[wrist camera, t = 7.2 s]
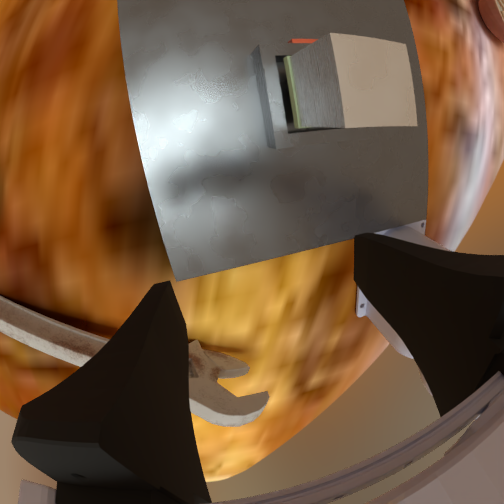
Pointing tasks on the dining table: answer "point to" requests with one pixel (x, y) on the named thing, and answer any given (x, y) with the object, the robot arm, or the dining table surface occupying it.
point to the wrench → (87, 344)
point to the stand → (261, 131)
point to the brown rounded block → (493, 16)
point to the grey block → (351, 83)
